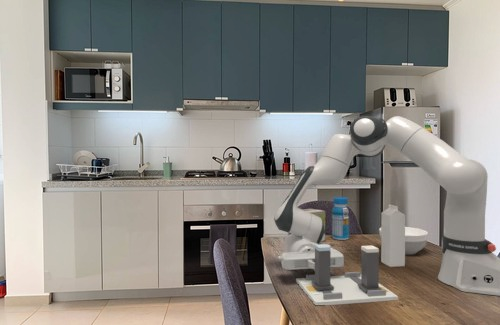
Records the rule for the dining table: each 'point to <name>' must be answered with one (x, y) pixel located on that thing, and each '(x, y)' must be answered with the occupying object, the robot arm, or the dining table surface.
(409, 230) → the bowl
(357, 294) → the twin pillar base
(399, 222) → the milk
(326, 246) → the grey capped post
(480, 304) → the dining table surface
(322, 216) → the tea box
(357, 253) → the dining table surface
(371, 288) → the grey post on base
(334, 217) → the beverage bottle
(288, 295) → the dining table surface
